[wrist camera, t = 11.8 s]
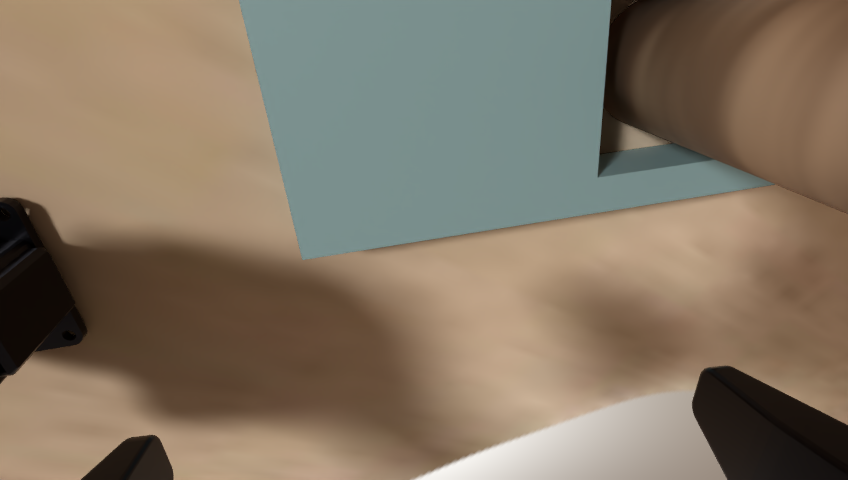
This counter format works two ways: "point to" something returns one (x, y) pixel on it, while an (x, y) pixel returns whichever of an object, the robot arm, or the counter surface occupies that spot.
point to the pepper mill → (740, 85)
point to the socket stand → (450, 119)
